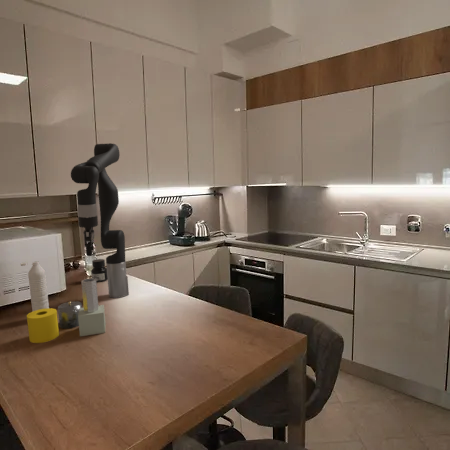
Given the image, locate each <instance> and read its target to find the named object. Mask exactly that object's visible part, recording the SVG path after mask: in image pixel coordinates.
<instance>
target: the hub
mask: <svg viewBox="0 0 450 450" xmlns="http://www.w3.org/2000/svg"><path fill="white" fill-rule="evenodd" d="M80 308H83V302H81V301H76V300H75V301H68V302H64V303H61V304H59V305H58V306H57V316H58V326H59V328H61V329H74V328H77V327H78V328H79V321H78V314H79V310H80Z"/></svg>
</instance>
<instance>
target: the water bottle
mask: <svg viewBox="0 0 450 450" xmlns="http://www.w3.org/2000/svg"><path fill="white" fill-rule="evenodd" d="M31 265H32V266H31V268H30V269H29V271H28V274H27V276H28V283H29V284H28V285H29V294H30V301H31V302H30V303H31V309H32V311H31V312H33V311H36V310H39V309H45V308H50V307H49V306H50V303H49V295H48V287H47V286H48V284H47V277H46V270H45V269H44V268H43V267H42V266H41V265H40V262H39V261H32V264H31ZM20 266H21V267H25V266H28V262H26V261H25V262H21V263H20Z"/></svg>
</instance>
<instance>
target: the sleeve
mask: <svg viewBox="0 0 450 450" xmlns="http://www.w3.org/2000/svg"><path fill="white" fill-rule="evenodd" d="M97 283H98V282H96V279H94V278H92V277H91V278H85V279H81V292H82V306H83V308H84V312H86V313H92V312H96V311H98V310H99V298H98V297H99V296H98V287H97Z"/></svg>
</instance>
